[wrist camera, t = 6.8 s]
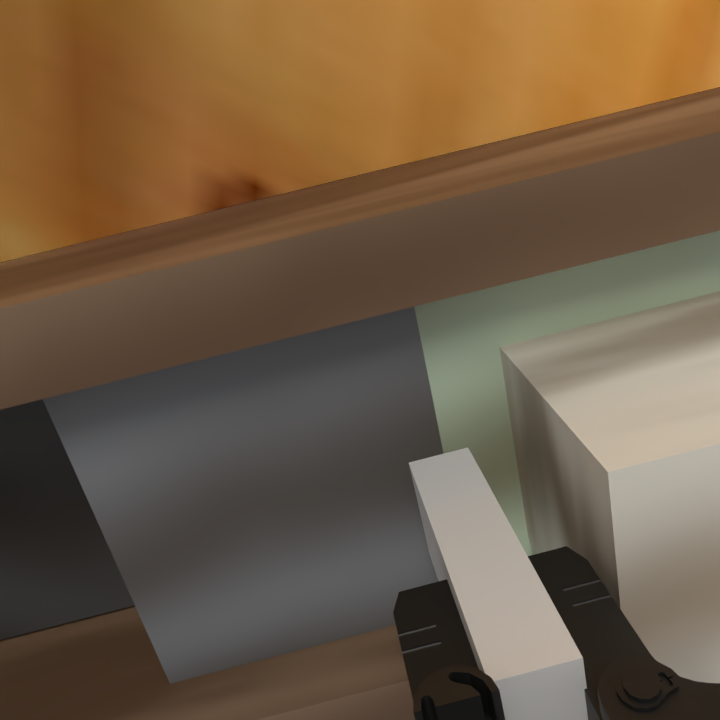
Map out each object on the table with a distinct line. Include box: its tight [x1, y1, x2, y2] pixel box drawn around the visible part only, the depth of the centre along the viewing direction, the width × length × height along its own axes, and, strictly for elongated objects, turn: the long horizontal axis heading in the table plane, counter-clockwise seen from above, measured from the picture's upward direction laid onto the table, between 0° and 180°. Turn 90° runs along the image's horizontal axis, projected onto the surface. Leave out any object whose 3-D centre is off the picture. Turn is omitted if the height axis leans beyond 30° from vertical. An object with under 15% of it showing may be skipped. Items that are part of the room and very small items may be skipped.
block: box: [499, 291, 720, 683], centre depth 15 cm, size 6×6×6 cm
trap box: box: [0, 87, 720, 720], centre depth 19 cm, size 14×38×6 cm, turn 102°
